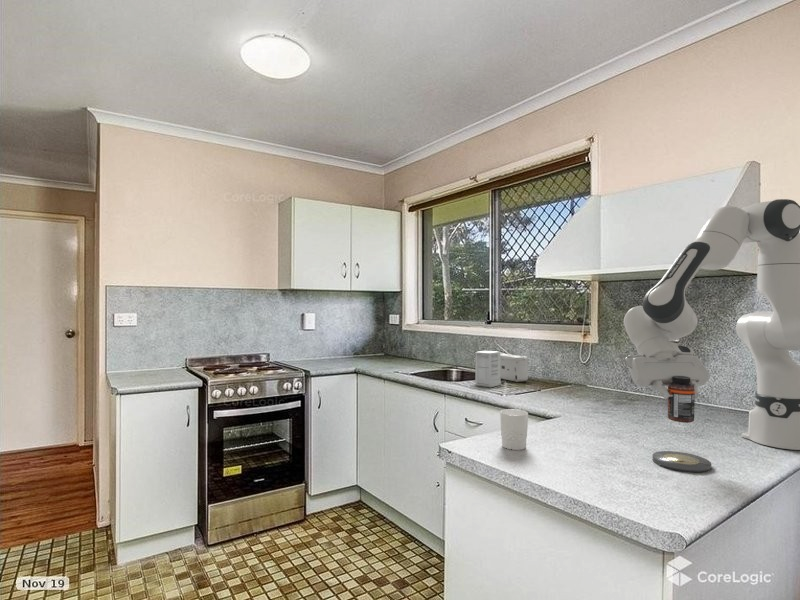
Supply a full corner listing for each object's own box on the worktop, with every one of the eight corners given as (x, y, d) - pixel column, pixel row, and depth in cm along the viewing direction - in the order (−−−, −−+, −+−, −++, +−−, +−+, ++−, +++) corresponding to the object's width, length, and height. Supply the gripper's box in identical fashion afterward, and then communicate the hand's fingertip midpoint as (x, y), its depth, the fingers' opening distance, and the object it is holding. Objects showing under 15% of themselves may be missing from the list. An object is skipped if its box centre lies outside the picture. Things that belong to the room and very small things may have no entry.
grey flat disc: (660, 452, 131) (660, 447, 131) (716, 463, 122) (716, 458, 122) (645, 463, 121) (645, 459, 121) (704, 477, 112) (704, 471, 112)
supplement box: (501, 385, 235) (501, 351, 235) (491, 387, 228) (491, 353, 228) (485, 382, 242) (485, 350, 242) (474, 385, 235) (474, 351, 235)
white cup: (521, 441, 140) (521, 408, 140) (532, 450, 132) (532, 414, 132) (495, 443, 139) (496, 409, 139) (506, 451, 131) (506, 415, 131)
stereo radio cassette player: (528, 381, 246) (528, 343, 246) (517, 383, 241) (517, 344, 242) (501, 376, 264) (501, 340, 264) (490, 377, 260) (490, 341, 260)
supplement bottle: (666, 416, 125) (667, 374, 126) (692, 419, 123) (693, 376, 123) (668, 421, 120) (668, 377, 120) (695, 424, 118) (696, 379, 118)
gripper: (627, 348, 127) (650, 391, 118) (697, 347, 130) (725, 390, 120) (618, 362, 132) (639, 405, 122) (685, 361, 134) (712, 403, 124)
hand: (682, 397), depth 121 cm, fingers closed on supplement bottle, 6 cm apart
